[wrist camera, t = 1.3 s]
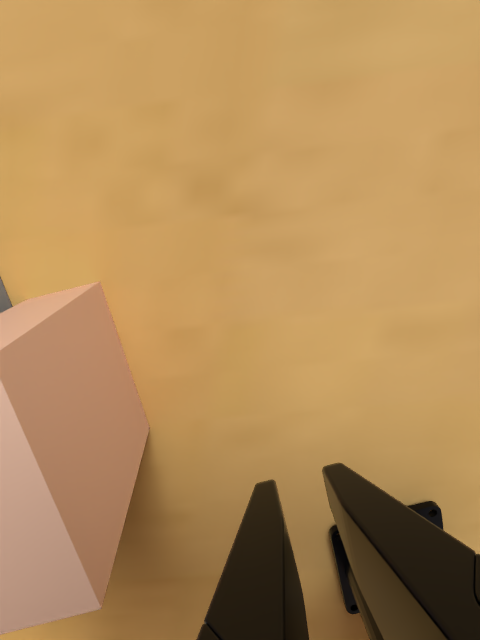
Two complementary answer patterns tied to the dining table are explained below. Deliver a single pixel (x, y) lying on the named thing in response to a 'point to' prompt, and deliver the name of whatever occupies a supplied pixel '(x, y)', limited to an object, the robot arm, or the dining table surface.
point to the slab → (63, 454)
